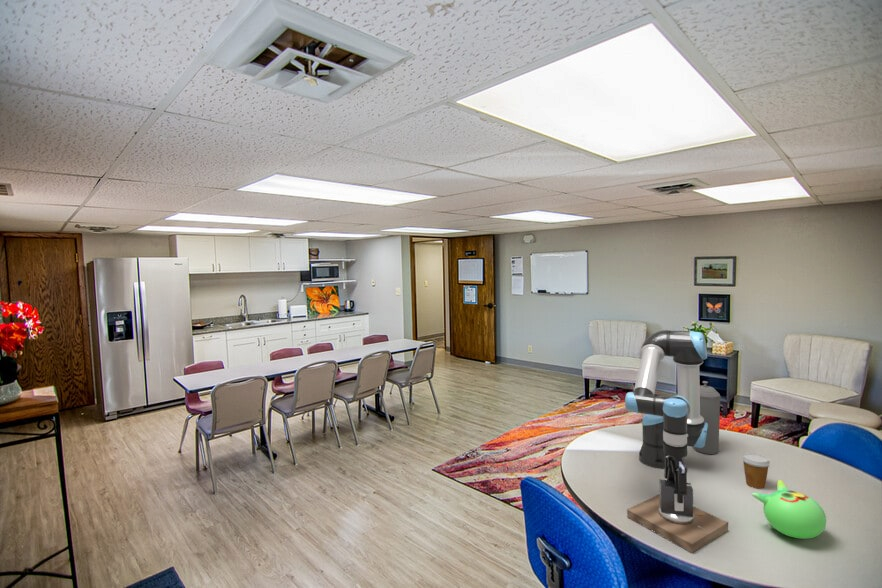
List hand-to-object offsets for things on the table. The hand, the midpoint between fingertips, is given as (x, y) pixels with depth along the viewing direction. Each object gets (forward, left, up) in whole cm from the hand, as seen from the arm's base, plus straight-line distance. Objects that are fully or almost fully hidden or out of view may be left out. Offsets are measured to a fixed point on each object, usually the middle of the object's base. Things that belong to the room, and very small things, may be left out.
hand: (675, 505), depth 153 cm
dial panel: (0, 0, -7) cm, 7 cm away
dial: (0, 0, -3) cm, 4 cm away
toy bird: (+24, +28, -7) cm, 38 cm away
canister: (-28, +71, -7) cm, 77 cm away
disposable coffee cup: (+2, +53, -7) cm, 54 cm away
